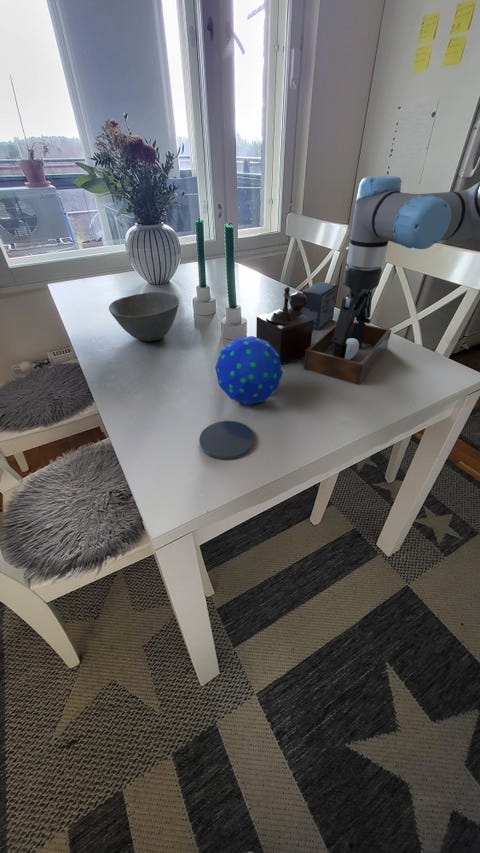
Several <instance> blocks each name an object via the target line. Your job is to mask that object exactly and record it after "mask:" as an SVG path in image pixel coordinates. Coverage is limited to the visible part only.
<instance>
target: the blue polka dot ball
mask: <svg viewBox="0 0 480 853" xmlns="http://www.w3.org/2000/svg"><path fill="white" fill-rule="evenodd" d="M215 372H216V373H215V374H216V378H217V382H218V386H219V387H220V389H222V391H223V392H224V393H225V394H226V395H227V396H228V397H229V399H230V400H233V401H236V402H239V403H241V404H244V405H252V404H257V403H261V402H265V401H266V400H267V399H268V398H269V397H270V396H271V395H272V394H273V393H274V392H275V391H276V390H278V388H279V385H280V382H281V378H282V375H283V367H282V364H281V362H280V357H279V355H278V353H277V352H276V351H275V350H274V348H273V347H272V346H271V345H270V344H269V342H267V341H264V340H261V339H259V338H256V336H253V335H251V336H244V337H237V338H234V339H232V340H231V341H230V342H229V343H228V344H226V346H224V347H223V348H222V349H221V350H220V352H219V356H218V357H217V361H216V364H215Z"/></svg>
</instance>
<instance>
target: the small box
mask: <svg viewBox="0 0 480 853" xmlns="http://www.w3.org/2000/svg"><path fill="white" fill-rule="evenodd" d="M337 291H338V284H337V283H332V282H323V281H317V282H316V283H314V284H313V285H311V286H309V287H307V288H305V289H304V290H302V294H304V295H305V296H306V298H307V303H306V305H305V306H304V307H303V313H302V315H305V316H307V317H309V318H311V319H313V320H314V325H313V330H316V331H320V330H321V329H322V328H323V327H325V326H326V325H327V324H328V323H330V322H332V320H334V314H335V305H336V299H337Z"/></svg>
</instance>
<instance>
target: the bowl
mask: <svg viewBox="0 0 480 853" xmlns="http://www.w3.org/2000/svg"><path fill="white" fill-rule="evenodd" d="M179 304H180V298H179V297H178V296H177V295H175V294H173V293H169V292H162V291H161V292H160V291H151V292H143V293H137V294H132V295H128V296H124V297H121V298H118V299H116V300H113V301H112V302H111V303H110V304H109V306H108V311H109V313H110V314H111V316H112V317H113V318H114V320H115V321H116V322H117V323H118V324H119V326H120V327H121V328H122V329H123V330H124V331H125V332H126V333H127V334H129V335H130V336H131V337H133V338H135V339H136V340H139V341H142V342H156V341H158V340H161V339H162V338H164V337H165V336H166V335H167V334H168V332H169V331H170V330H171V328H172V326H173V324H174V321H175V320H176V316H177V312H178V309H179Z"/></svg>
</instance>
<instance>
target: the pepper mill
mask: <svg viewBox="0 0 480 853" xmlns="http://www.w3.org/2000/svg"><path fill="white" fill-rule="evenodd" d="M290 291H291V288H290V287H289V286H285V288H284V293H283V295H282V296H283V298H284V300H283V301H284V302H283V307H282V308H278V309H276V310H274V311H271V312H266V313H263V314H259V315H257V316H256V327H255V329H256V334H255V337H256V338H259V339H261V340H264V341H267V342H269V344H270V345H271V346H272V347H273V348H274V350H275V351H276V352H277V353H278V355H279V357H280V362H281V365H284V364H288V363H292V362H295V361H297V360H301V359H303V358H305V350H306V349H307V348H309V347H310V346H311V345H312V340H313V333H314V329H313V325H314V320H313V319H311V318H309V317H307V316H305V315H302V313H303V307H304V306H305V305H306V303H307V298H306V296H305V295H304V294H303V292H293V293H290ZM289 306H290V308H289Z"/></svg>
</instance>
